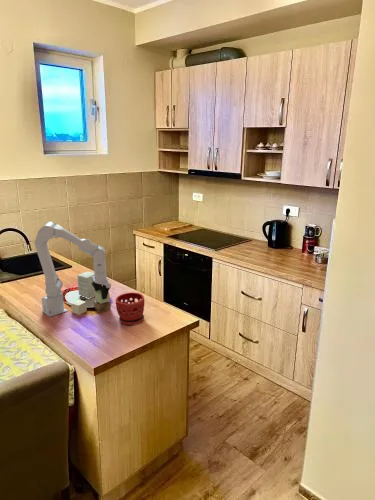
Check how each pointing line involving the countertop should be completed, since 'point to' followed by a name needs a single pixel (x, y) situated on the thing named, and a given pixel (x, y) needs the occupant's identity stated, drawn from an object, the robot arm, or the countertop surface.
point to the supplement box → (86, 284)
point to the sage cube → (101, 297)
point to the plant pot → (130, 308)
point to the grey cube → (78, 307)
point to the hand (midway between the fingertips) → (101, 297)
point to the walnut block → (102, 306)
